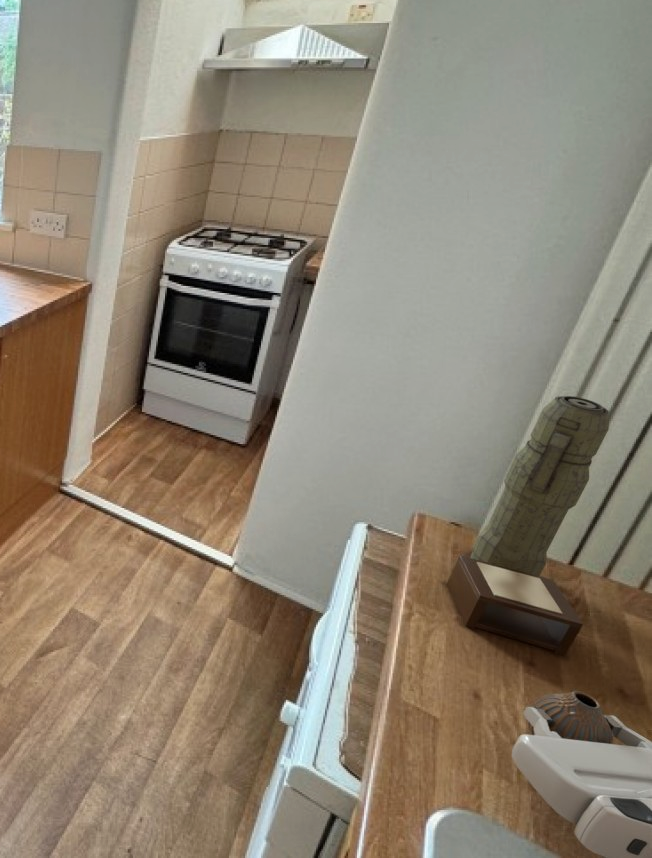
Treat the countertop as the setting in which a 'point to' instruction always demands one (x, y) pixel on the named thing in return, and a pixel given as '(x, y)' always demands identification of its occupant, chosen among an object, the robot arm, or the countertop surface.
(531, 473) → the carved stone statue
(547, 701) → the vase
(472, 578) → the brown wooden box
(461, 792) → the countertop surface
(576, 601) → the countertop surface
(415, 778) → the countertop surface
